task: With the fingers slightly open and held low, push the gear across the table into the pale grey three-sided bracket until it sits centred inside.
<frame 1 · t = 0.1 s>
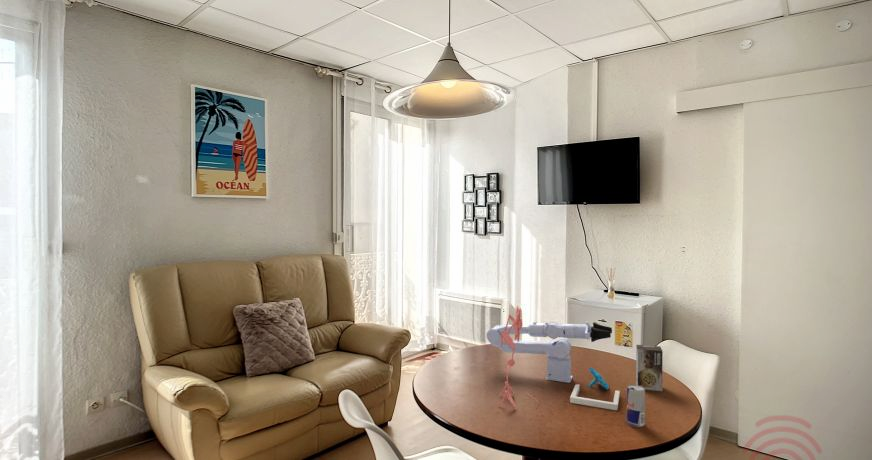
hand: (611, 332, 182), 22 cm above the table, tool horizontal, fingers open, 7 cm apart
gear: (598, 387, 181), on the table
figurine: (518, 403, 166), on the table
bracket: (595, 398, 170), on the table
energy drink: (635, 424, 149), on the table
coffee box: (648, 388, 181), on the table
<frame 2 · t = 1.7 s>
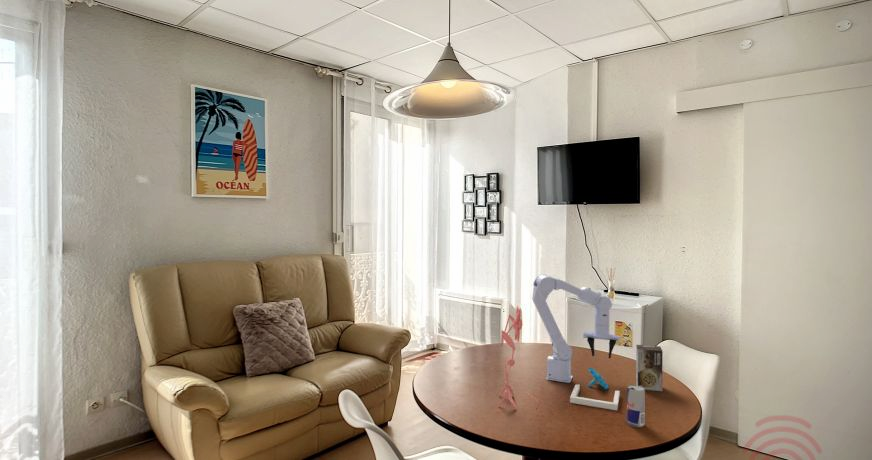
hand: (601, 356, 190), 9 cm above the table, tool pointing down, fingers open, 6 cm apart
nothing on the table moved.
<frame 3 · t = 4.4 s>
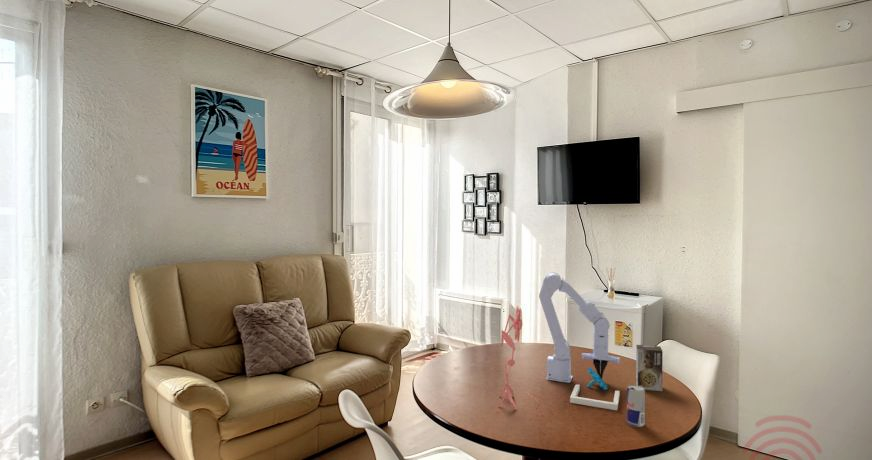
hand: (600, 378, 187), 2 cm above the table, tool pointing down, fingers closed
gear: (597, 388, 180), on the table, touching gripper
everything else where it was.
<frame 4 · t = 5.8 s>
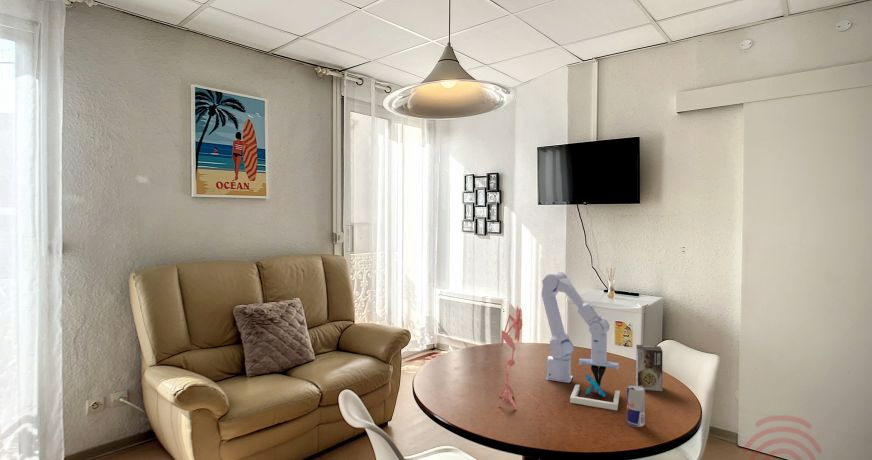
hand: (598, 384, 179), 2 cm above the table, tool pointing down, fingers closed
gear: (595, 395, 173), on the table, touching gripper
everything else where it was.
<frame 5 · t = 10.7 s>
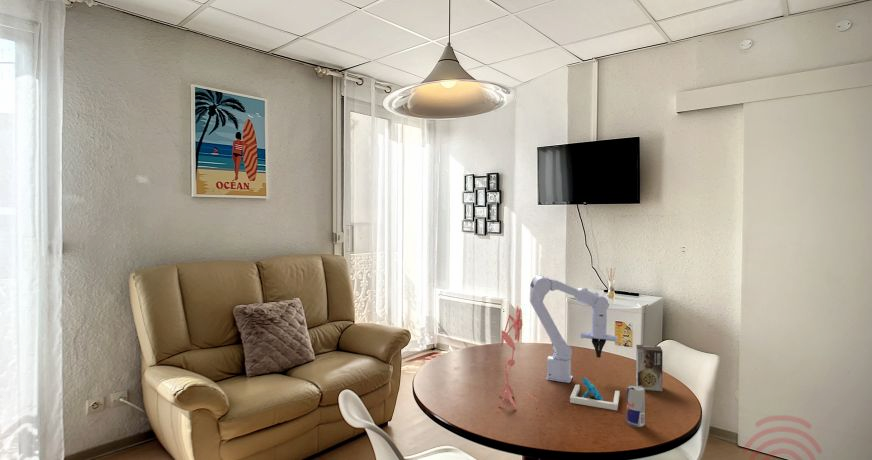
hand: (598, 356, 190), 9 cm above the table, tool pointing down, fingers closed
gear: (592, 399, 169), on the table
everything else where it was.
at the end: gear inside the target area on the bracket (1.2 cm from its centre), point 0.0 cm above the bracket's base; gear moved 13.6 cm from its start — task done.
